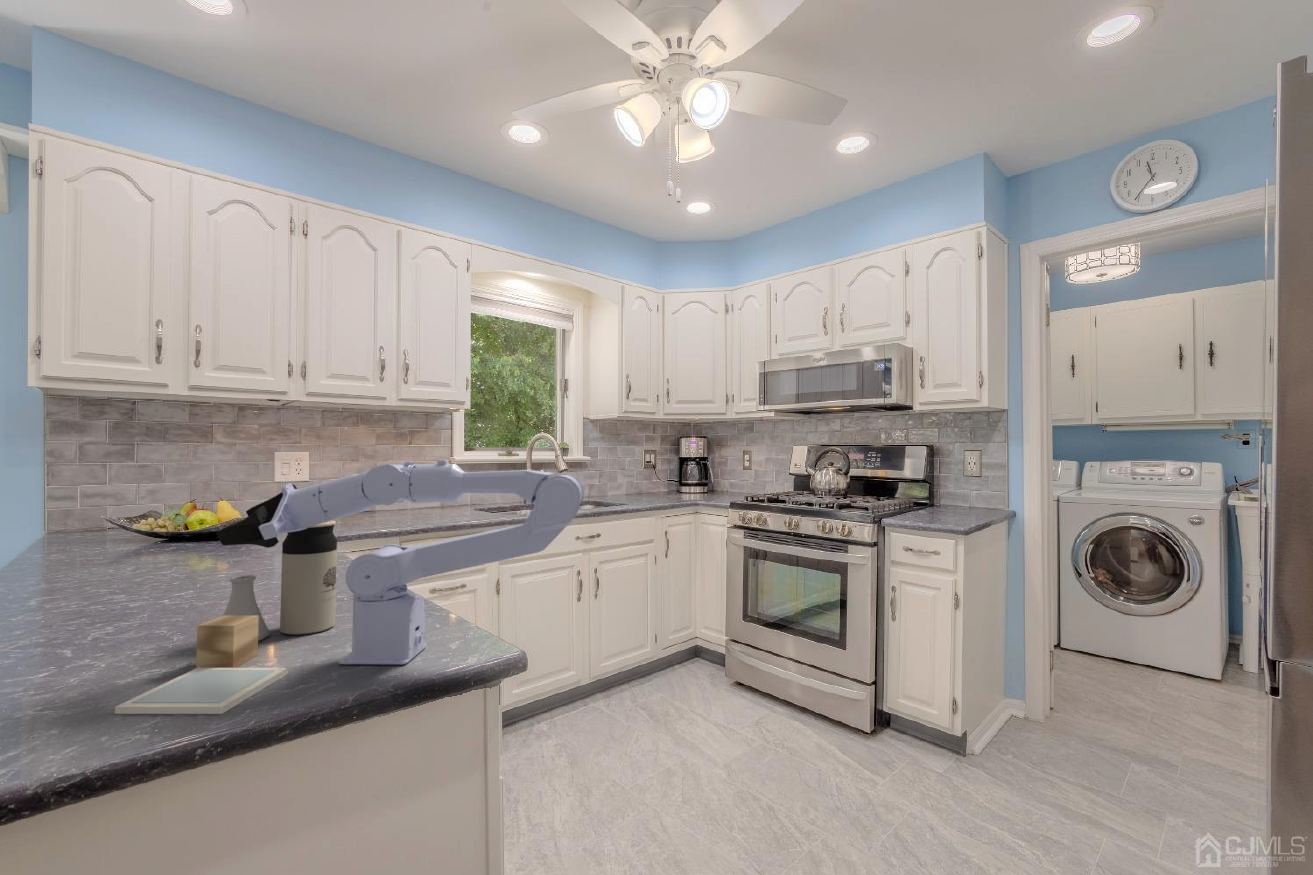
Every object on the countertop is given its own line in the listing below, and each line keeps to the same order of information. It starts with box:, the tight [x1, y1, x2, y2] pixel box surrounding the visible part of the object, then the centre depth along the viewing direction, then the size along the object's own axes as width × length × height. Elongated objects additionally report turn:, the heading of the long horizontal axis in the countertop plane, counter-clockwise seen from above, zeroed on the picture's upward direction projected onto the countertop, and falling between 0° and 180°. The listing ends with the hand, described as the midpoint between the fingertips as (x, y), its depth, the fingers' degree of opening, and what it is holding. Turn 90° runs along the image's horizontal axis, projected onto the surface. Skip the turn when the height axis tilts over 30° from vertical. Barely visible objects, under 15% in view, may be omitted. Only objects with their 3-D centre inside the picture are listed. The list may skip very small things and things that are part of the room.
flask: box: [222, 574, 271, 642], centre depth 91 cm, size 7×7×10 cm
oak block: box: [195, 614, 259, 669], centre depth 81 cm, size 5×5×6 cm
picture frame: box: [114, 667, 289, 715], centre depth 71 cm, size 12×12×1 cm
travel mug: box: [279, 520, 338, 636], centre depth 97 cm, size 8×8×18 cm
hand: (235, 526), depth 84 cm, fingers open, 7 cm apart
